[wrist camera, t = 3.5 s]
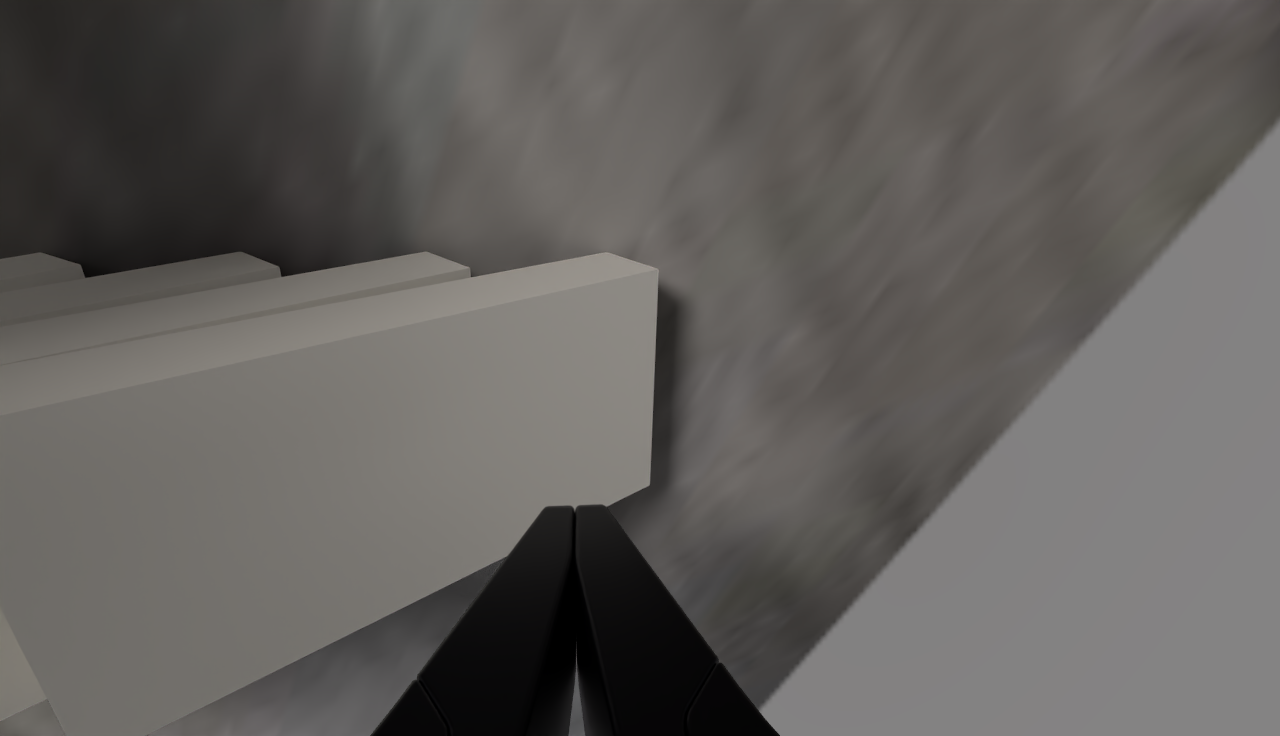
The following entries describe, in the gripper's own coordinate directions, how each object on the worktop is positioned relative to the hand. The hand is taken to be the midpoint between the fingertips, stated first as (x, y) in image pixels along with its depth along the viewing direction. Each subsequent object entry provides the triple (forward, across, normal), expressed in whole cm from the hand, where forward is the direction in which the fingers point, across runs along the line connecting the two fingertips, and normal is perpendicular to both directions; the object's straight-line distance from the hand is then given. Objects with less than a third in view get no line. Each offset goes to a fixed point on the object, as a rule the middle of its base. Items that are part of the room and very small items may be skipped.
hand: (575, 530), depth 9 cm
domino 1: (+5, -1, 0) cm, 5 cm away
